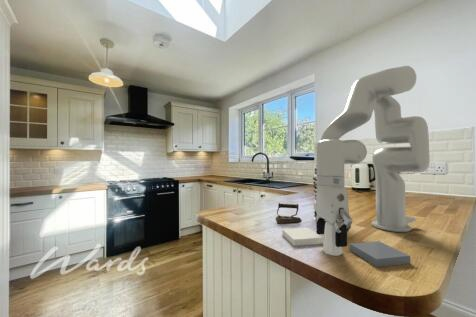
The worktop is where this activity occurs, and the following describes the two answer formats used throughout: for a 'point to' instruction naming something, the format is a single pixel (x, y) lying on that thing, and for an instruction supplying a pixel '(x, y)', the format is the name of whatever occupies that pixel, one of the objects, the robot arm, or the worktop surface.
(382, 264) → the plate
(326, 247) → the salt shaker
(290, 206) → the clothes iron
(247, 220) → the worktop surface
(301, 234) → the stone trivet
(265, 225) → the worktop surface
